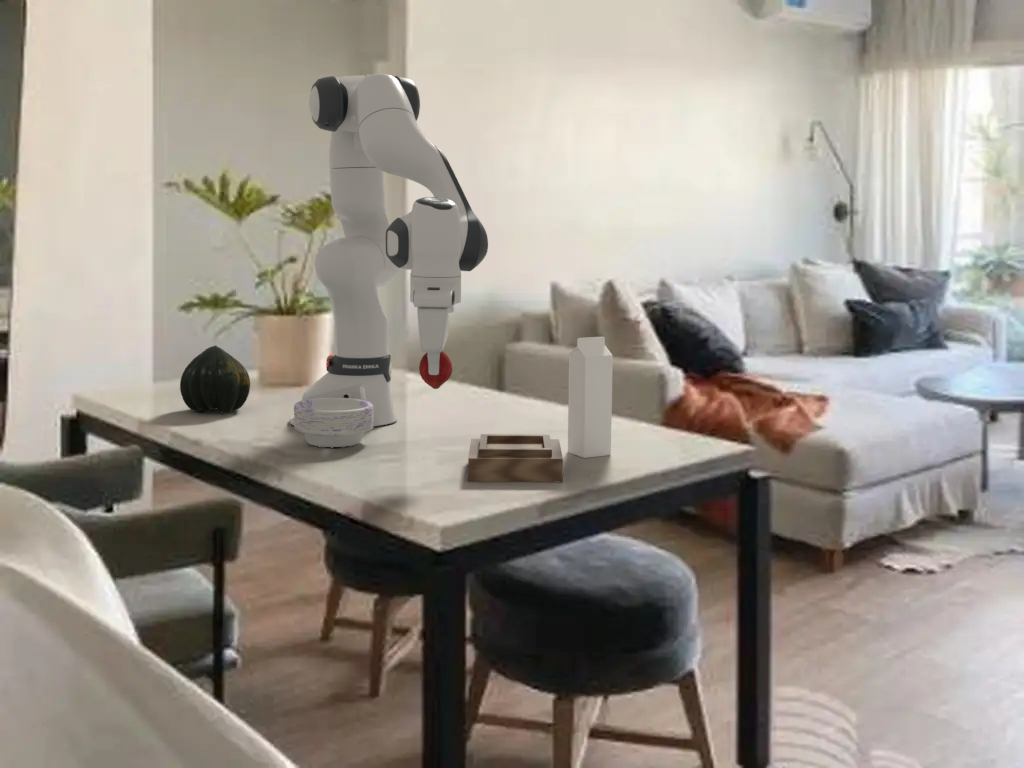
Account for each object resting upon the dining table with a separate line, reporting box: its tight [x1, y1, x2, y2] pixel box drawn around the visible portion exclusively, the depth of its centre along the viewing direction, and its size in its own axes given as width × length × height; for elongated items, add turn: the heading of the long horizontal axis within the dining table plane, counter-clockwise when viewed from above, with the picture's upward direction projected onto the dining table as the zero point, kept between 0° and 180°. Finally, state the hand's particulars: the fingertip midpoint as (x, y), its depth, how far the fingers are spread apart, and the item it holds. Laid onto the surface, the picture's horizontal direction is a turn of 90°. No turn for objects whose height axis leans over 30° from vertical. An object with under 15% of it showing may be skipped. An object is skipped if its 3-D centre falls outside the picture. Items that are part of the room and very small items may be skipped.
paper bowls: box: [293, 398, 374, 448], centre depth 230 cm, size 15×15×8 cm
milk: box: [567, 336, 614, 459], centre depth 222 cm, size 6×6×22 cm
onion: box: [418, 351, 453, 390], centre depth 209 cm, size 6×6×8 cm
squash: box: [179, 345, 251, 414], centre depth 263 cm, size 14×15×15 cm
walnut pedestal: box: [467, 433, 564, 483], centre depth 209 cm, size 16×16×5 cm
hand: (435, 371), depth 209 cm, fingers closed on onion, 6 cm apart
